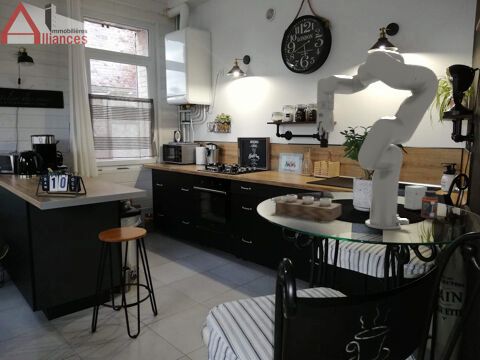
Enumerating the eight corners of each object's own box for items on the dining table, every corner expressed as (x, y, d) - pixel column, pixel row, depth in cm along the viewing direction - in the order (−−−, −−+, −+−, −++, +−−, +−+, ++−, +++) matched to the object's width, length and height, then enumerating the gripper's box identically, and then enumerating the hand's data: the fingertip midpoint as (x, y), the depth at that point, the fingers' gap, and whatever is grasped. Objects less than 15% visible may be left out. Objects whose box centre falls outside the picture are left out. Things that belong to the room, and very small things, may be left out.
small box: (416, 206, 171) (418, 185, 170) (426, 208, 166) (427, 186, 165) (403, 207, 169) (404, 185, 167) (412, 209, 163) (414, 187, 162)
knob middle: (315, 211, 155) (315, 196, 154) (310, 213, 151) (311, 198, 150) (305, 209, 158) (305, 195, 157) (300, 211, 154) (300, 196, 153)
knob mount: (341, 215, 152) (341, 204, 152) (331, 221, 143) (331, 209, 142) (287, 208, 167) (287, 198, 166) (275, 212, 157) (275, 202, 157)
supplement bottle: (436, 220, 144) (438, 192, 143) (420, 218, 147) (422, 191, 146) (437, 217, 149) (438, 190, 148) (421, 215, 152) (423, 189, 151)
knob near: (332, 213, 151) (332, 198, 150) (328, 215, 147) (328, 200, 146) (321, 212, 153) (322, 197, 153) (317, 214, 150) (318, 198, 149)
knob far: (298, 209, 160) (298, 194, 159) (293, 211, 156) (294, 196, 155) (289, 207, 163) (289, 193, 162) (284, 209, 159) (284, 195, 158)
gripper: (327, 105, 149) (325, 148, 151) (339, 107, 161) (337, 147, 164) (310, 106, 153) (309, 148, 156) (323, 108, 165) (322, 147, 168)
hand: (324, 147), depth 160 cm, fingers closed
